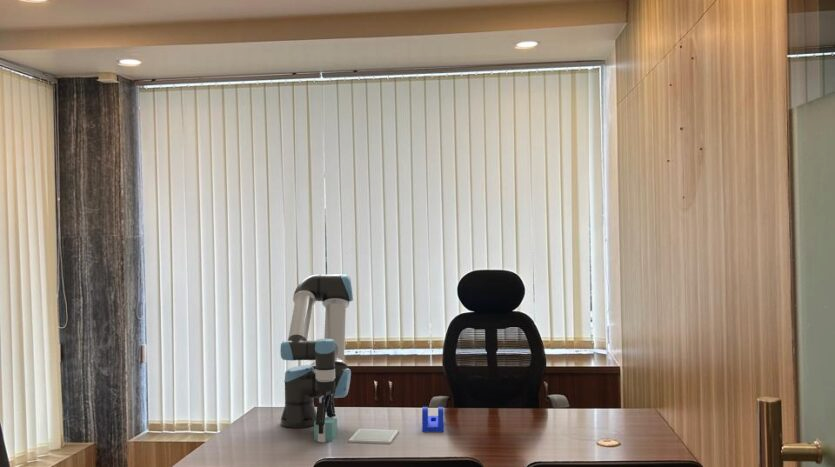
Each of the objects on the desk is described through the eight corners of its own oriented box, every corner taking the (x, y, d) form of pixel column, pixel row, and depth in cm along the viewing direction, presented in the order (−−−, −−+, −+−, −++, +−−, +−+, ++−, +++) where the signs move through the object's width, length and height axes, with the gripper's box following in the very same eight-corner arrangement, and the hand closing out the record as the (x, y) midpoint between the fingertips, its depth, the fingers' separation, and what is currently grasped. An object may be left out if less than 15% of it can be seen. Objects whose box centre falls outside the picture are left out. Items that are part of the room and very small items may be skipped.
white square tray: (358, 430, 304) (358, 428, 304) (398, 432, 302) (398, 430, 302) (348, 442, 288) (348, 439, 288) (390, 443, 286) (390, 441, 286)
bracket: (443, 432, 302) (443, 409, 302) (422, 432, 302) (422, 409, 302) (443, 420, 320) (443, 399, 320) (423, 420, 320) (423, 399, 320)
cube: (319, 435, 298) (319, 417, 298) (337, 436, 297) (337, 418, 297) (314, 440, 291) (314, 422, 291) (332, 441, 290) (332, 422, 290)
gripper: (324, 373, 306) (324, 429, 306) (306, 385, 283) (307, 445, 283) (342, 374, 304) (343, 430, 305) (326, 386, 282) (326, 446, 282)
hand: (325, 437), depth 294 cm, fingers open, 10 cm apart
